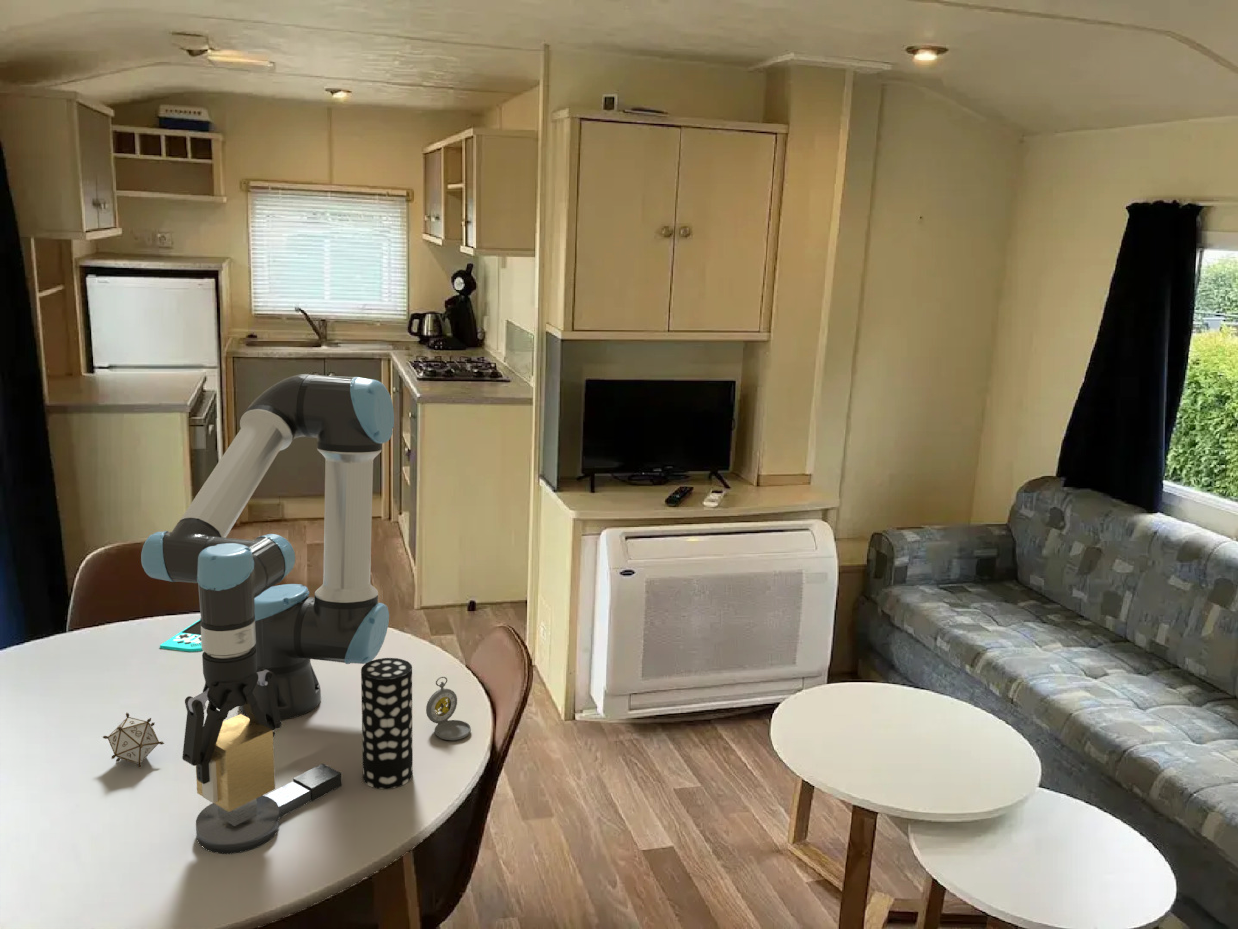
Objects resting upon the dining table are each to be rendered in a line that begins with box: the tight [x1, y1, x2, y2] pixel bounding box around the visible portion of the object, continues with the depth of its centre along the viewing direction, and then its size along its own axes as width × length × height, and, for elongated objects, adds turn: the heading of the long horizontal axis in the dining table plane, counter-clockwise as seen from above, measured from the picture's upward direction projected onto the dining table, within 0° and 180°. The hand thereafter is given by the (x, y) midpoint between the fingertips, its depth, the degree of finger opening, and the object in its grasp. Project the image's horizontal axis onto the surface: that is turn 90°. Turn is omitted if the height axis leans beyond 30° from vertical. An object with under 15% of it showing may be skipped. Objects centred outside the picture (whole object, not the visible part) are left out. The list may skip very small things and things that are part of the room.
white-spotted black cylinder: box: [360, 657, 414, 790], centre depth 168 cm, size 8×8×20 cm
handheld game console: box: [159, 618, 204, 653], centre depth 223 cm, size 10×16×1 cm, turn 170°
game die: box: [102, 712, 165, 769], centre depth 171 cm, size 9×8×10 cm
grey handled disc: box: [195, 763, 343, 855], centre depth 158 cm, size 24×12×8 cm, turn 145°
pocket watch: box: [425, 676, 472, 741], centre depth 186 cm, size 8×8×10 cm
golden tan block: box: [195, 713, 276, 812], centre depth 151 cm, size 8×8×10 cm
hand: (236, 786), depth 152 cm, fingers closed on golden tan block, 8 cm apart
